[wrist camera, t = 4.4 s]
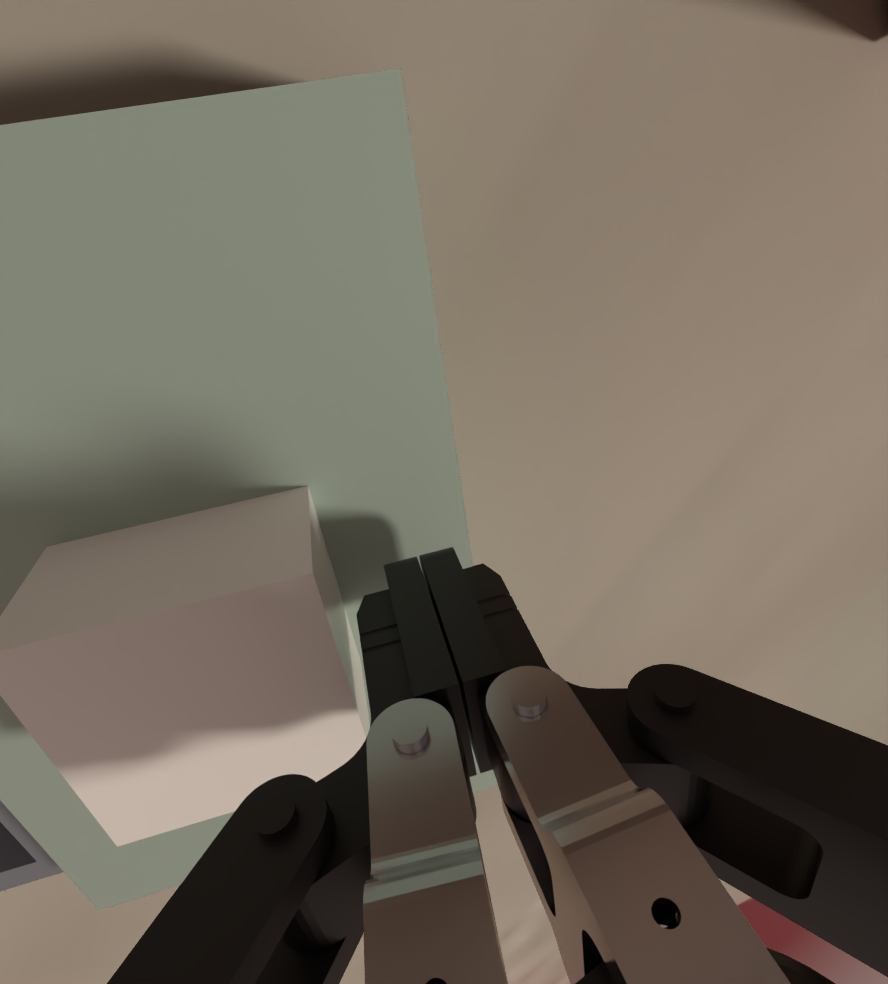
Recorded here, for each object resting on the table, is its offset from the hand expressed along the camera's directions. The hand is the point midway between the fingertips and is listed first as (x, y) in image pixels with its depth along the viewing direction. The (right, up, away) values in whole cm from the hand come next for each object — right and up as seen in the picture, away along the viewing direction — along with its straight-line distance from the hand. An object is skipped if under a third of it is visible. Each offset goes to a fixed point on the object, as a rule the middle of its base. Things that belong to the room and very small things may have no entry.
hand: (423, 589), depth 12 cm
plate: (-6, +1, +4) cm, 7 cm away
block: (-4, -1, 0) cm, 4 cm away
